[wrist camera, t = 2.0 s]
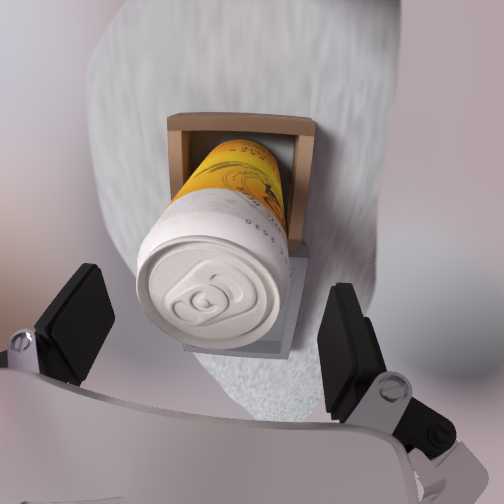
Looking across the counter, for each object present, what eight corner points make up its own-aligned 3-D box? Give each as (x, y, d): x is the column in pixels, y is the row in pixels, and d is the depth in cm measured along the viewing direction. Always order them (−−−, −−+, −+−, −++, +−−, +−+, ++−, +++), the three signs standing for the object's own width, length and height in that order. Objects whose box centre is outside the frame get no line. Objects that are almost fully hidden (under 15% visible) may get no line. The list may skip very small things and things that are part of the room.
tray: (174, 234, 26) (166, 248, 24) (306, 242, 26) (309, 258, 24) (188, 335, 34) (184, 350, 31) (287, 343, 33) (287, 359, 31)
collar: (179, 112, 20) (167, 117, 17) (309, 118, 20) (315, 122, 17) (184, 225, 25) (175, 242, 23) (296, 232, 25) (299, 250, 23)
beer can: (294, 181, 23) (323, 318, 10) (235, 220, 25) (204, 369, 12) (247, 122, 20) (211, 188, 8) (189, 168, 23) (98, 284, 10)
